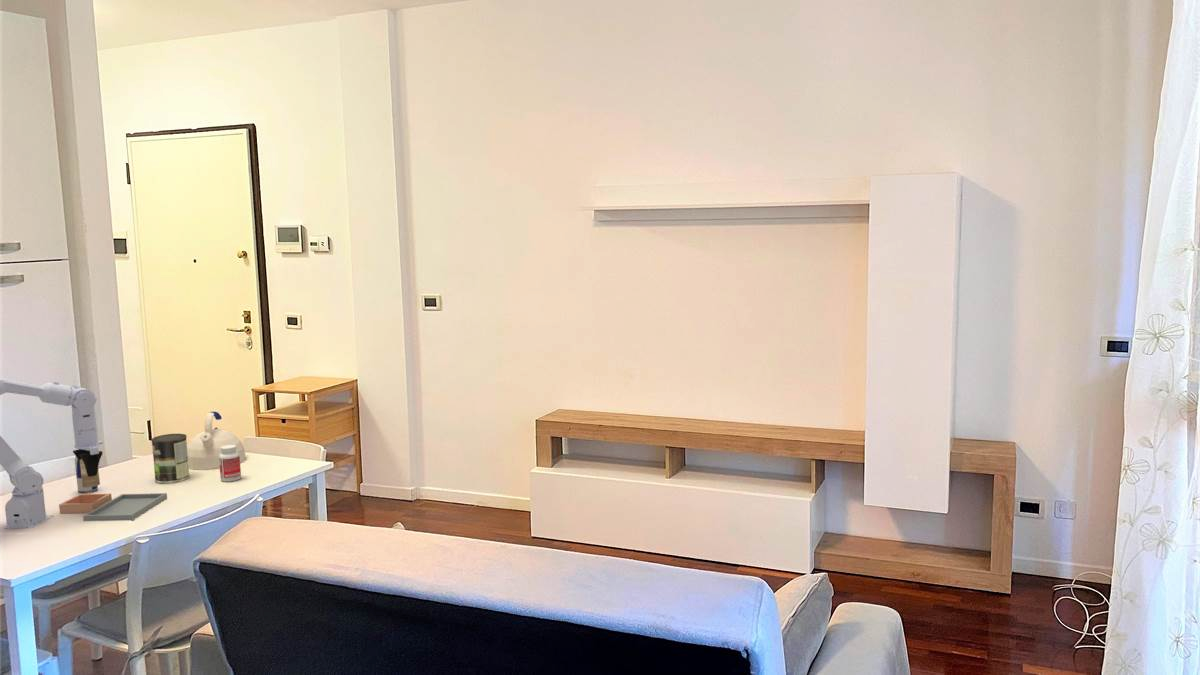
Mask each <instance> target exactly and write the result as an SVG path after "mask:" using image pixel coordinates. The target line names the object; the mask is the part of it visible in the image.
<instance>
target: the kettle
mask: <svg viewBox="0 0 1200 675" xmlns="http://www.w3.org/2000/svg"><path fill="white" fill-rule="evenodd" d="M213 418H215V420H217V421H219V420H222V418H223V417H222V415H220V412H217V411H210V412H208V413H207V415H206V417H205V418H204V419H205V420H204V431H202V432H199V433H198V434H196V435H194V436H193V437H192V438H191V439H190V441H189V442H188V443H187V454H188V466H189V470H193V471H197V470H198V471H202V470H203V471H204V470H205V471H206V470H207V471H208V470H216V469H220V465H219V455H220V454H221V453H222V452H221V447H222V446H226V445H236V448H237V449H236V452H238V453H239V456H240V464H241V463H242V462H244V461H245V460H246V459H247V457H246V451H245V447H244V445H243V442H242V441H241V439H240V438H238V437H237V435H235V434H234V433H233V432H230V431H229V430H227V429H220V428H218V427H214V428H213V420H214V419H213Z"/></svg>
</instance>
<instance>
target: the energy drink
mask: <svg viewBox="0 0 1200 675" xmlns="http://www.w3.org/2000/svg"><path fill="white" fill-rule="evenodd" d="M74 464H75V466H74V467H75V476H76V477H75V478H76V485H77V494H94V493H95V492H98V491H99V487H98V486H99V485H98V486H94V487H83V486H82V477H81V468H80V463H79V461H78V459H77V457H76V455H75V457H74Z"/></svg>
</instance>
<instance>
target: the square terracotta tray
mask: <svg viewBox="0 0 1200 675" xmlns="http://www.w3.org/2000/svg"><path fill="white" fill-rule="evenodd" d="M112 497H113V496H112V493H89V494H79V493H77V494H76V495H75V496H73V497H71V498H69V499H67V500H65V501H63V502H61V503H59V505H58V509H59V514H88V513H89V512H91V511H93V510H95V509H96V508H98V507H100V506H102V505H103V504H105V503H107V502H109V501H111V500H112V499H113V498H112Z"/></svg>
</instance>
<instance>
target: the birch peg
mask: <svg viewBox="0 0 1200 675" xmlns="http://www.w3.org/2000/svg"><path fill="white" fill-rule="evenodd" d="M80 468H81V477H82V486H83V487H94V486H99V485H101V482H100V473H99V469H98V472H97V475H96V476H91V477H89V476H88V475H87V472H86V468H85V465H84V462H83V460H82V459H80Z"/></svg>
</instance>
